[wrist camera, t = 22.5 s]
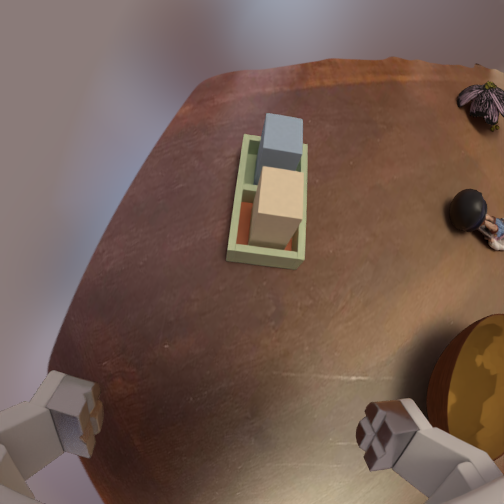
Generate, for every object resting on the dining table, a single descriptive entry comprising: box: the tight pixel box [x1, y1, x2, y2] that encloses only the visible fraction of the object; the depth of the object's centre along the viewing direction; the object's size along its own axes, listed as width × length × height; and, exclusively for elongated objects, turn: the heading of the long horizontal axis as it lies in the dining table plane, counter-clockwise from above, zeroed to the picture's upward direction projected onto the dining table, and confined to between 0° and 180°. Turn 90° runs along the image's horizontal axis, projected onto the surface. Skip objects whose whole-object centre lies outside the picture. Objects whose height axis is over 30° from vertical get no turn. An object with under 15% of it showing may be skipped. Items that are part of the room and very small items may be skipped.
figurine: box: [450, 189, 504, 250], centre depth 40 cm, size 8×7×18 cm
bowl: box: [427, 314, 504, 461], centre depth 29 cm, size 18×18×10 cm
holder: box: [226, 134, 307, 270], centre depth 38 cm, size 8×15×4 cm, turn 174°
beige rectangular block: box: [248, 166, 304, 250], centre depth 33 cm, size 4×5×9 cm
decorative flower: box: [457, 81, 504, 132], centre depth 50 cm, size 14×12×15 cm
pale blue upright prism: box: [253, 113, 303, 185], centre depth 36 cm, size 4×5×9 cm
